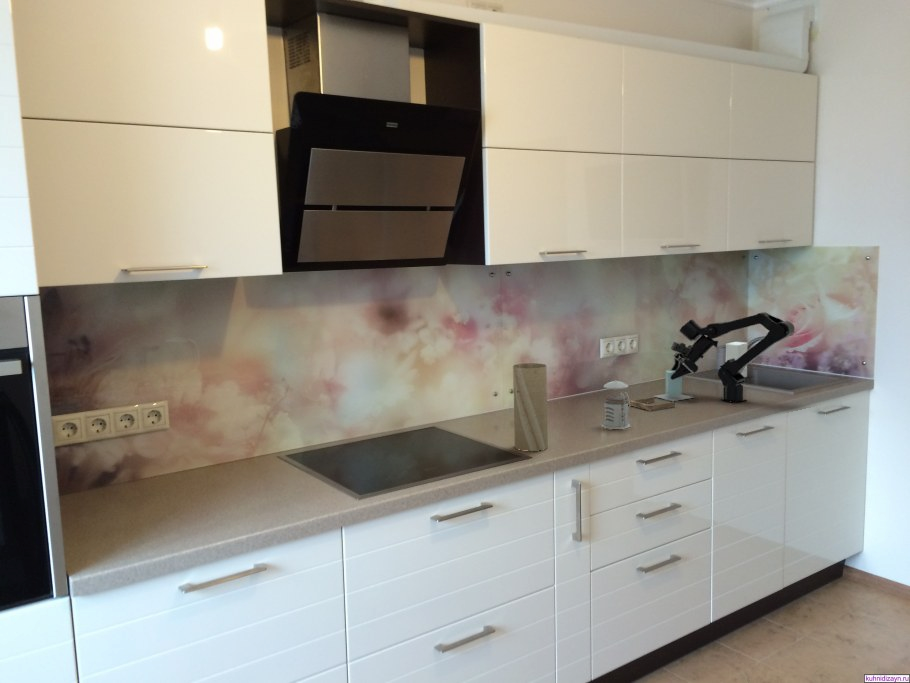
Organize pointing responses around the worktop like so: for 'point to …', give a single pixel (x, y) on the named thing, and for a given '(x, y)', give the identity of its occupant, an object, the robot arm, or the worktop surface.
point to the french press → (616, 406)
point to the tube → (530, 406)
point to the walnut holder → (640, 404)
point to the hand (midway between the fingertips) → (669, 377)
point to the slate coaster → (673, 397)
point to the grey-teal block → (673, 384)
